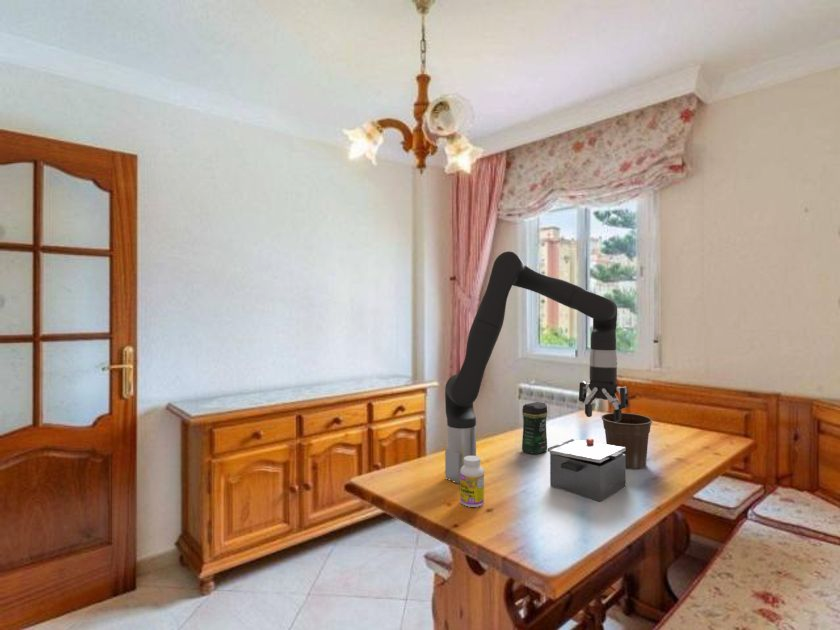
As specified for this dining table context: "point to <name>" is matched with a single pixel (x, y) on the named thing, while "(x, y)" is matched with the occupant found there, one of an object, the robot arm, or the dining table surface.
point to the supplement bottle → (472, 482)
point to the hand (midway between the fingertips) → (602, 419)
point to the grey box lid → (587, 450)
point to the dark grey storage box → (588, 476)
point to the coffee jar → (534, 428)
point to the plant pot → (629, 436)
